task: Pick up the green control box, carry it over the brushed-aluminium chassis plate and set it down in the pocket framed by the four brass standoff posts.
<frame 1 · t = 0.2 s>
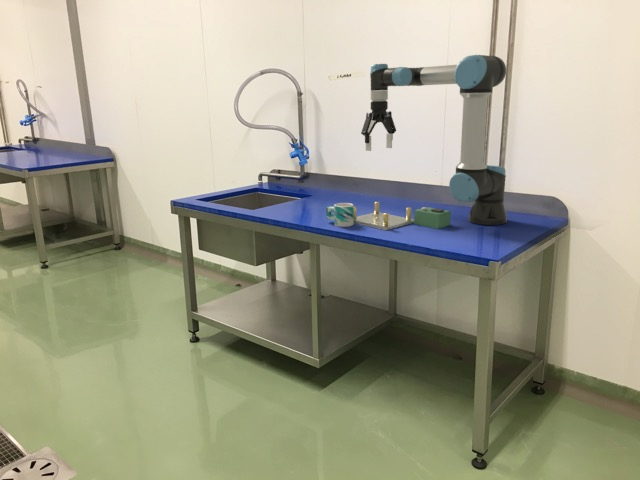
hand: (379, 149, 241), 28 cm above the table, fingers open, 13 cm apart
chassis: (381, 222, 224), on the table
green control box: (432, 225, 218), on the table
mug: (339, 224, 223), on the table
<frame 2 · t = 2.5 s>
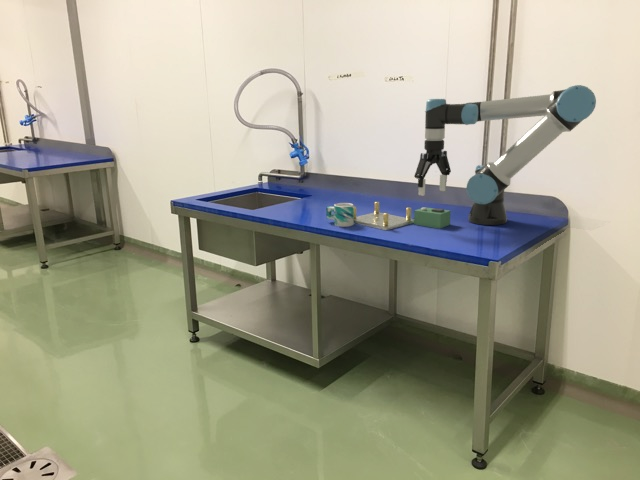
hand: (432, 193, 215), 13 cm above the table, fingers open, 13 cm apart
nothing on the table moved.
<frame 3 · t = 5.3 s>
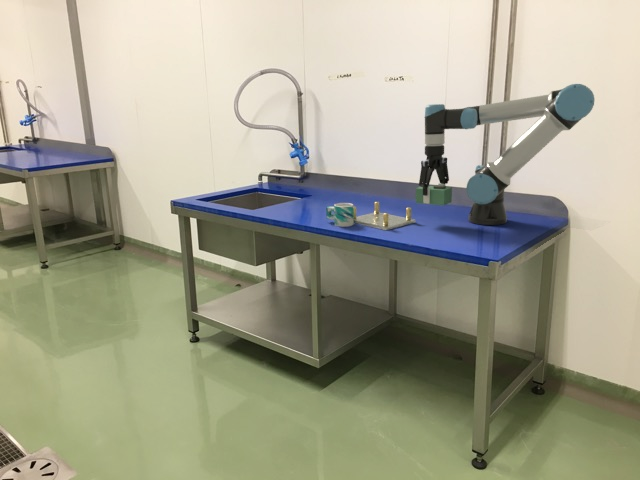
hand: (434, 201, 215), 10 cm above the table, fingers closed on green control box, 9 cm apart
green control box: (433, 202, 215), point 9 cm above the table, touching gripper
everything else where it was.
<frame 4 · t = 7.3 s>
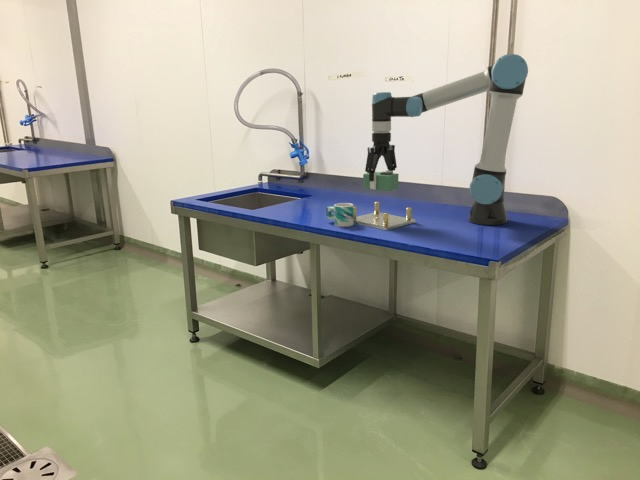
hand: (381, 187, 220), 15 cm above the table, fingers closed on green control box, 9 cm apart
green control box: (380, 188, 221), point 14 cm above the table, touching gripper
everything else where it was.
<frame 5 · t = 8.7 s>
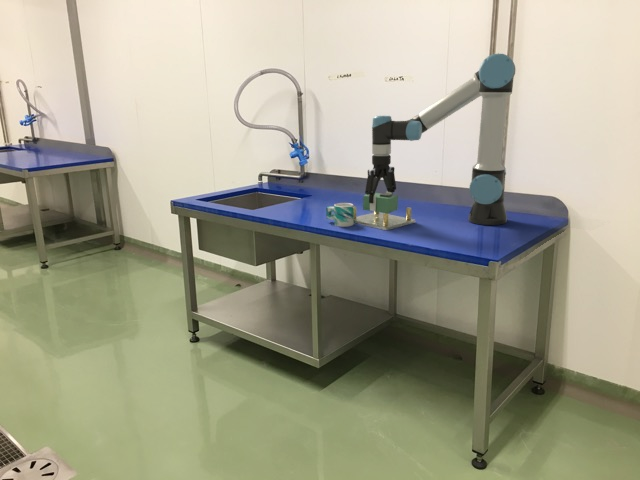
hand: (380, 208, 223), 6 cm above the table, fingers closed on green control box, 9 cm apart
green control box: (380, 209, 223), point 5 cm above the table, touching gripper
everything else where it was.
when the fingers open (2 cm above the table, at t = 9.9 s): green control box stays where it is, resting on chassis.
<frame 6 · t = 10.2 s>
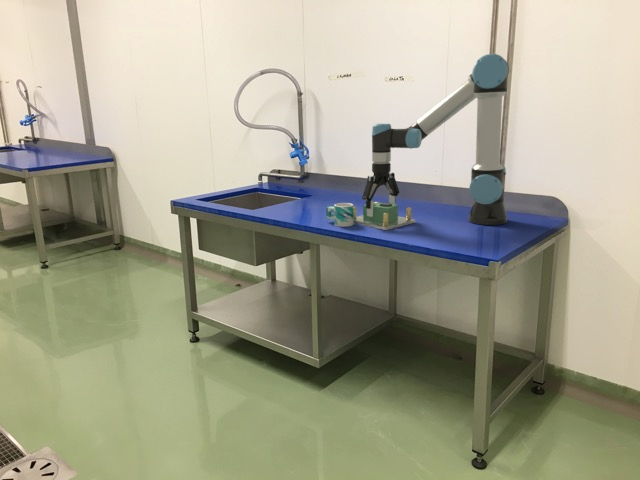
hand: (381, 213, 223), 4 cm above the table, fingers open, 13 cm apart
green control box: (380, 219, 224), point 1 cm above the table, touching chassis
everything else where it was.
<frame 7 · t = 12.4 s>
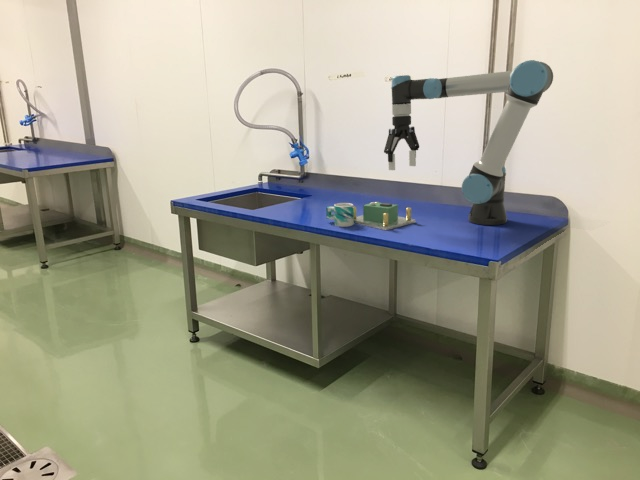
hand: (402, 168, 221), 22 cm above the table, fingers open, 13 cm apart
nothing on the table moved.
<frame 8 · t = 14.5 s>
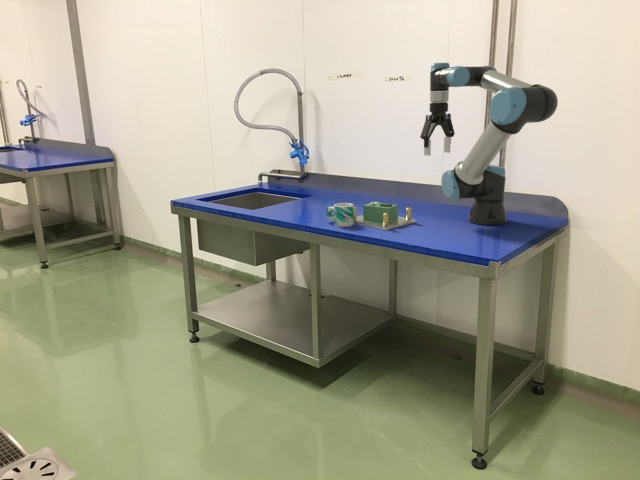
hand: (437, 154, 226), 27 cm above the table, fingers open, 13 cm apart
nothing on the table moved.
at the end: green control box inside the target area on the chassis (0.2 cm from its centre), point 1.2 cm above the chassis's base; green control box tilted 0°; the gripper is holding nothing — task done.
